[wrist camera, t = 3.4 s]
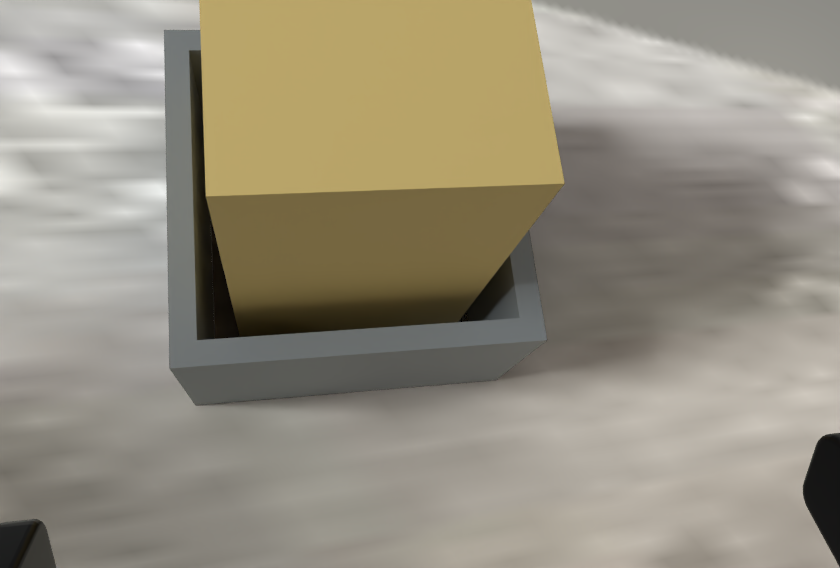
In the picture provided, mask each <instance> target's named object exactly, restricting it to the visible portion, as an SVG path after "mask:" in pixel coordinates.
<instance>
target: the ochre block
mask: <svg viewBox="0 0 840 568" xmlns="http://www.w3.org/2000/svg"><path fill="white" fill-rule="evenodd" d="M199 3H200V33H201V64H202V95H203V126H204V157H205V187H206V199H207V203H208V208H209V212H210V216H211V220H212V224H213V228H214V232H215V236H216V240H217V245H218V249H219V253H220V257H221V261H222V265H223V269H224V273H225V277H226V281H227V286H228V290H229V294H230V298H231V302H232V306H233V310H234V314H235V318H236V323H237V327H238V331H239V335H240V337H251V336H266V335H280V334H295V333H309V332H324V331H338V330H353V329H368V328H382V327H397V326H411V325H426V324H440V323H455V322H458V321H459V320H460V319H461V317H462V316H463V315H464V313H465V312H466V311H467V310H468V308H469V307H470V306H471V304H472V303H473V302H474V301H475V299H476V298H477V297H478V295H479V294H480V293H481V291H482V290H483V289H484V288H485V286H486V285H487V284H488V282H489V281H490V280H491V278H492V277H493V276H494V275H495V273H496V272H497V271H498V269H499V268H500V267H501V265H502V264H503V263H504V262H505V260H506V259H507V258H508V256H509V255H510V254H511V253H512V251H513V250H514V249H515V247H516V246H517V245H518V243H519V242H520V241H521V240H522V238H523V237H524V236H525V234H526V233H527V232H528V230H529V229H530V228H531V227H532V225H533V224H534V223H535V221H536V220H537V219H538V217H539V216H540V215H541V214H542V212H543V211H544V210H545V208H546V207H547V206H548V204H549V203H550V202H551V201H552V199H553V198H554V197H555V195H556V194H557V193H558V192H559V190H560V189H561V188H562V186H563V185H564V184H565V183H564V178H563V172H562V167H561V161H560V156H559V150H558V145H557V139H556V134H555V128H554V123H553V117H552V112H551V106H550V101H549V96H548V90H547V85H546V79H545V74H544V68H543V63H542V57H541V52H540V46H539V41H538V35H537V30H536V24H535V19H534V14H533V8H532V3H531V0H199Z"/></svg>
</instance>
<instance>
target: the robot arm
mask: <svg viewBox="0 0 840 568" xmlns="http://www.w3.org/2000/svg"><path fill="white" fill-rule="evenodd" d="M803 496H804V500H805V504H806V506H807V508H808V510H809V512H810V513H811V515H812V517H813V519H814V521H815V523H816V524H817V526H818V528H819V530H820V532H821V534H822V535H823V537H824V539H825V541H826V543H827V545H828V546H829V548H830V550H831V552H832V554H833V556H834V557H835V559H836V561H837V563H838V565H839V567H840V433H834V434H827V435H825V436H823V437H822V438H821V439H820V440H819V441H818V442H817V444H816V447H815V450H814V453H813V456H812V459H811V462H810V465H809V468H808V471H807V474H806V477H805V481H804V484H803ZM0 568H56V565H55V561H54V557H53V553H52V549H51V545H50V541H49V537H48V533H47V529H46V527H45V525H44V524H43V522H42V521H40V520H37V519H32V520H22V521H13V522H5V523H1V524H0Z"/></svg>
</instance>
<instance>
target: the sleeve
mask: <svg viewBox="0 0 840 568" xmlns="http://www.w3.org/2000/svg"><path fill="white" fill-rule="evenodd" d="M164 55H165V117H166V180H167V242H168V304H169V366H170V370H171V371H172V373H173V374H174V376H175V377H176V378H177V380H178V381H179V383H180V384H181V385H182V387H183V388H184V390H185V391H186V393H187V394H188V395H189V397H190V398H191V400H192V401H193V403H194V404H195V405H204V404H216V403H228V402H240V401H252V400H264V399H276V398H288V397H300V396H312V395H324V394H336V393H348V392H360V391H372V390H384V389H396V388H408V387H420V386H432V385H444V384H455V383H467V382H479V381H491V380H497V379H498V378H499V377H500V376H502V375H503V374H504V373H506V372H507V371H508V370H509V369H511V368H512V367H513V366H515V365H516V364H517V363H518V362H520V361H521V360H522V359H524V358H525V357H526V356H527V355H529V354H530V353H531V352H533V351H534V350H535V349H536V348H538V347H539V346H540V345H542V344H543V343H544V342H545V341H547V336H546V330H545V324H544V318H543V312H542V306H541V300H540V294H539V288H538V282H537V276H536V270H535V264H534V257H533V251H532V245H531V239H530V233H529V230H528V232H527V233H526V234H525V236H524V237H523V238H522V240H521V241H520V242H519V243H518V245H517V246H516V247H515V249H514V250H513V251H512V253H511V254H510V255H509V256H508V258H507V259H506V260H505V262H504V263H503V264H502V265H501V267H500V268H499V269H498V271H497V272H496V273H495V275H494V276H493V277H492V278H491V280H490V281H489V282H488V284H487V285H486V286H485V288H484V289H483V290H482V291H481V293H480V294H479V295H478V297H477V298H476V299H475V301H474V302H473V303H472V304H471V306H470V307H469V308H468V310H467V314H468V321H469V322H455V323H440V324H426V325H411V326H397V327H382V328H368V329H353V330H338V331H324V332H309V333H295V334H280V335H266V336H251V337H237V338H222V339H215V323H214V293H213V264H212V235H211V216H210V212H209V208H208V203H207V199H206V187H205V157H204V126H203V95H202V64H201V33H200V30H164Z"/></svg>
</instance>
